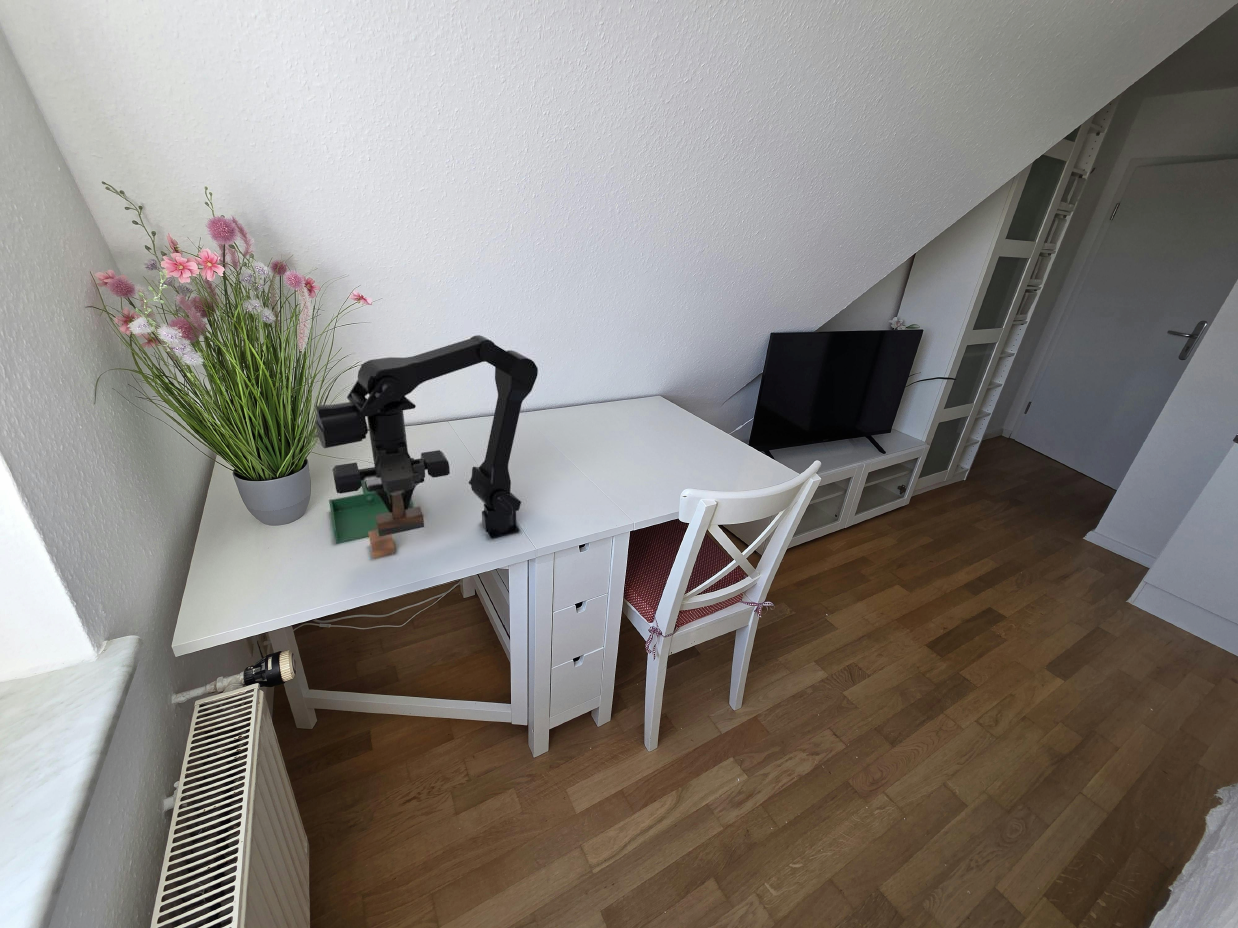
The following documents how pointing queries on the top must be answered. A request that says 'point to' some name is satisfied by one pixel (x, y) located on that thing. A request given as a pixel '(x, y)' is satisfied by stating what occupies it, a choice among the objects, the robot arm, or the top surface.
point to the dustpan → (356, 515)
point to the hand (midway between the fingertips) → (398, 510)
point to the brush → (399, 517)
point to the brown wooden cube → (381, 544)
